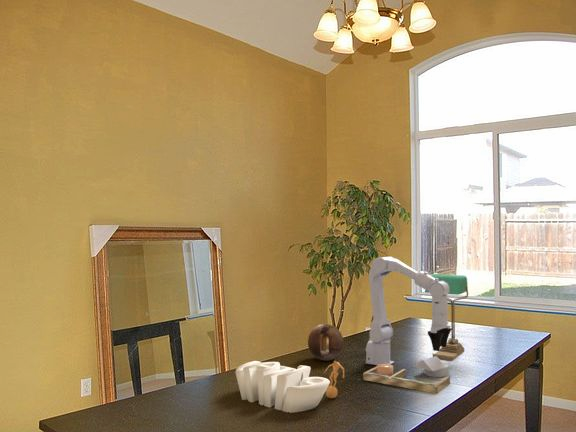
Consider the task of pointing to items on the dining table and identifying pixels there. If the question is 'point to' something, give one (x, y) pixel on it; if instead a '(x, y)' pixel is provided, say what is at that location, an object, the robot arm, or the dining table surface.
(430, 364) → the wedge on round base
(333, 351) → the wooden sphere
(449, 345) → the banker's lamp
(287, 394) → the white wavy slab sculpture
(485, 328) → the dining table surface
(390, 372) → the tan smooth rounded piece
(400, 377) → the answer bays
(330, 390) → the figurine
